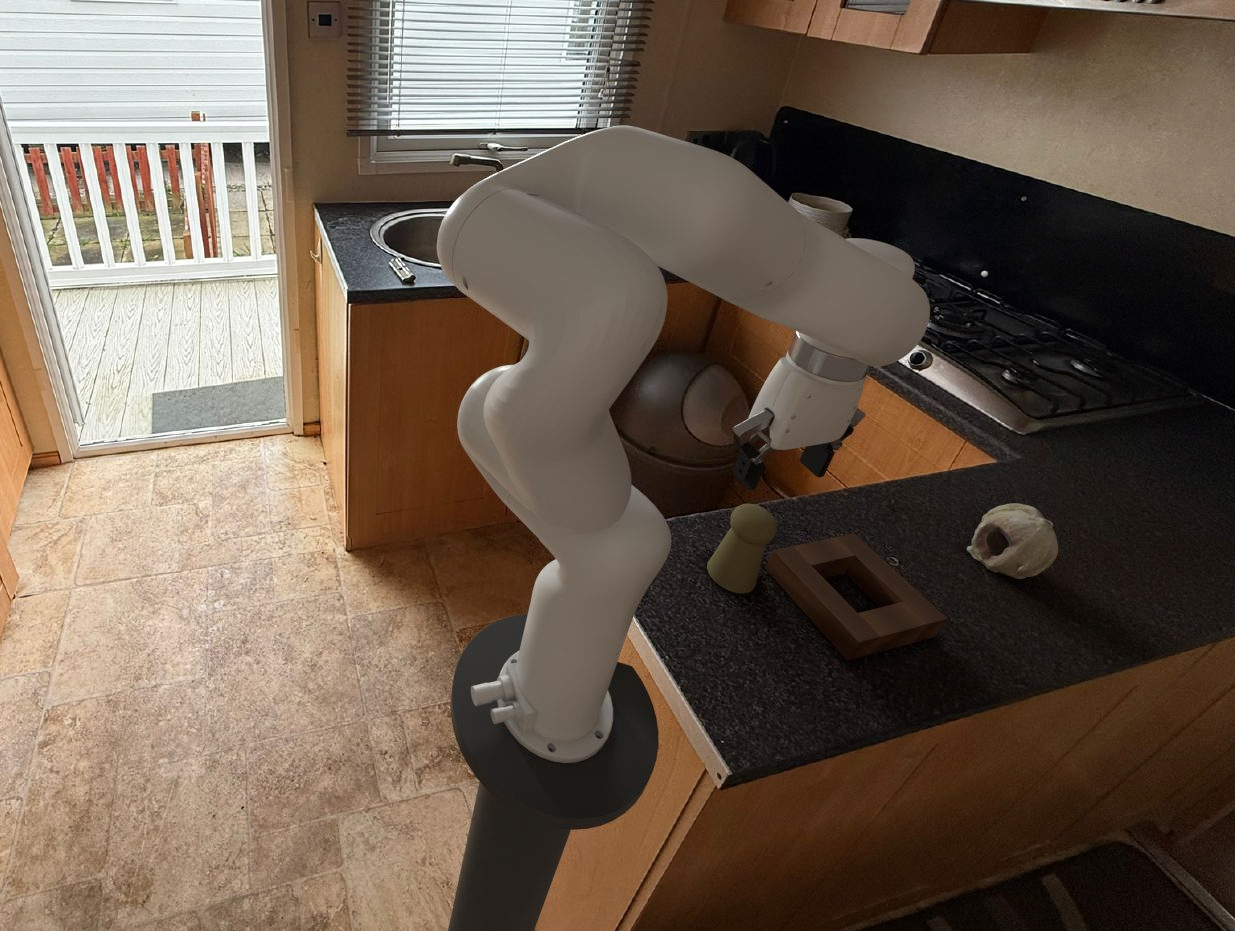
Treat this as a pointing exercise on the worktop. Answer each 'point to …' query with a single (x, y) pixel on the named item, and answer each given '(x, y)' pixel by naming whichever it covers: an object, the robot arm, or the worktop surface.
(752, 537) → the cork
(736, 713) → the worktop surface
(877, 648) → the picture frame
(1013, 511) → the cream hollow round shell
